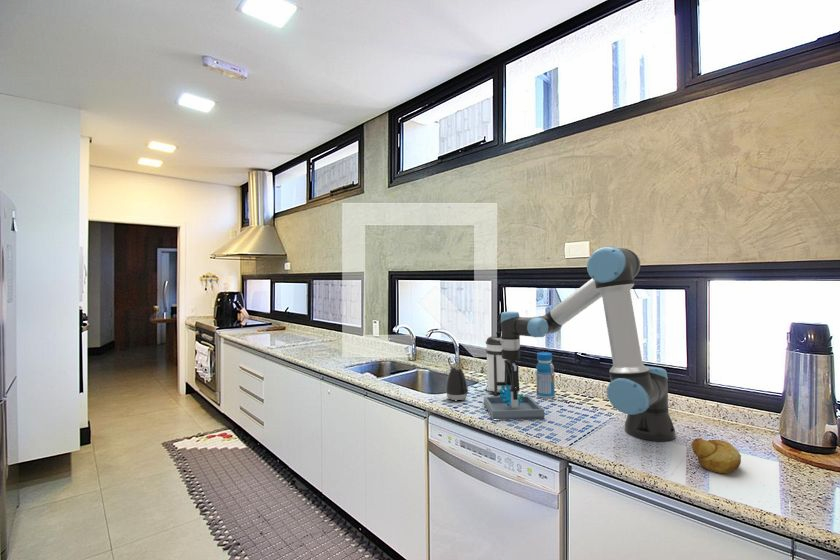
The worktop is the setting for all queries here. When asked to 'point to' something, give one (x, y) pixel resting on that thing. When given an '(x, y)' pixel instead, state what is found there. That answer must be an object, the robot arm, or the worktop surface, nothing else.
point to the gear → (508, 395)
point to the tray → (513, 409)
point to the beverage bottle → (545, 375)
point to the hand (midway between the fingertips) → (512, 403)
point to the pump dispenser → (456, 384)
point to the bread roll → (716, 455)
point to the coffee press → (495, 364)
